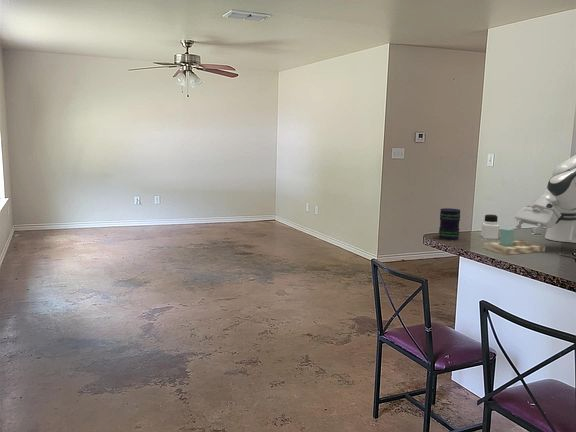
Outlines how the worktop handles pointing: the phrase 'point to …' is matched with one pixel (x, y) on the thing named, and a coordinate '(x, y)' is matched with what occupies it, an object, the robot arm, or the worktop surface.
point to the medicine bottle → (490, 227)
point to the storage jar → (449, 224)
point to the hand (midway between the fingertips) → (524, 230)
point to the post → (506, 237)
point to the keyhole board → (515, 247)
